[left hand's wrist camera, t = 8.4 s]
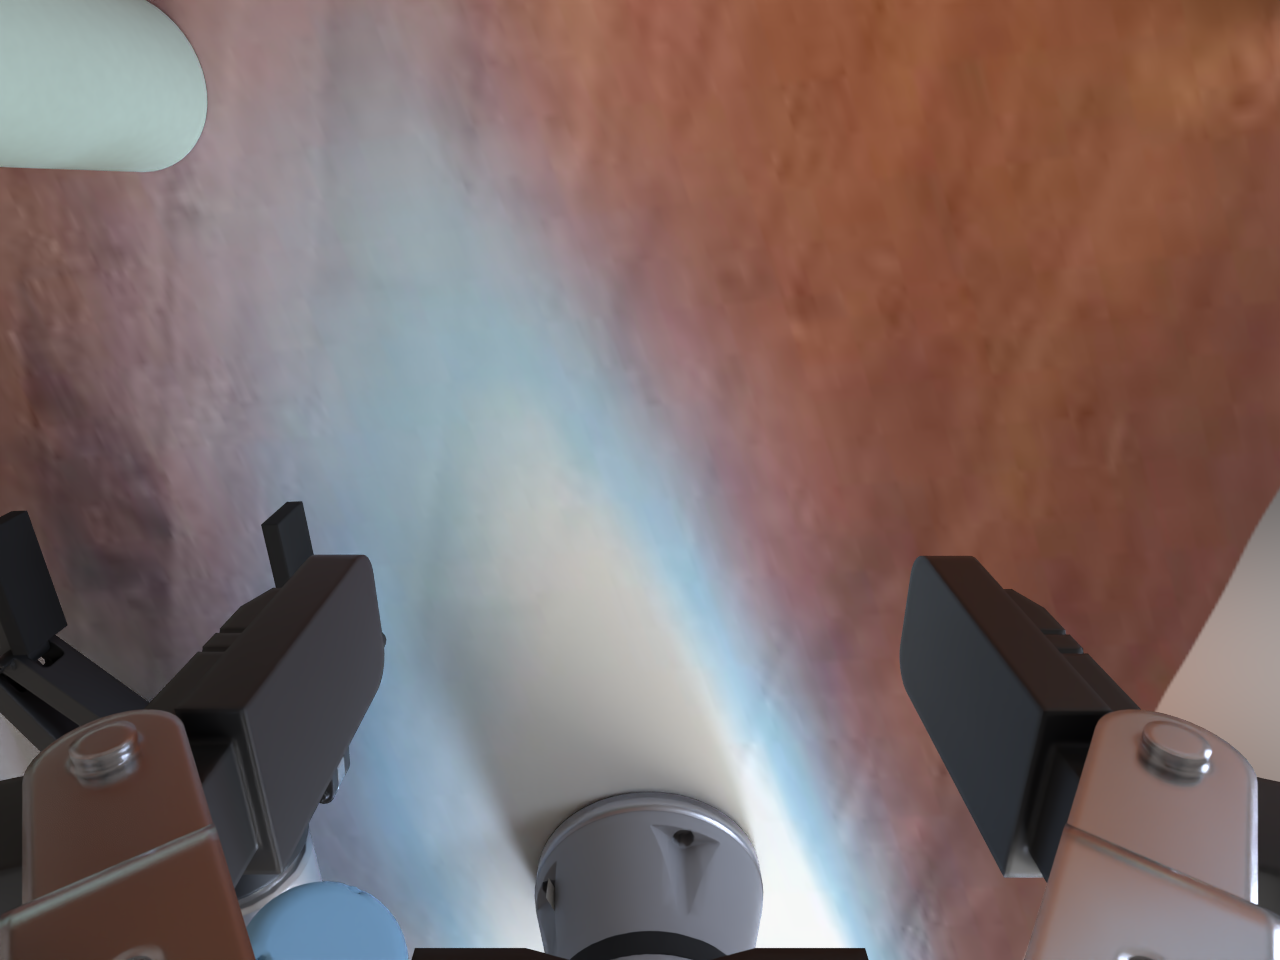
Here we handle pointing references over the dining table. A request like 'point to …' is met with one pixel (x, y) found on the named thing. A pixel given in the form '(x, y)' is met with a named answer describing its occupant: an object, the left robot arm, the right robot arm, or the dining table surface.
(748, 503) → the dining table surface
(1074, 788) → the left robot arm
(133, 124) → the bottle
